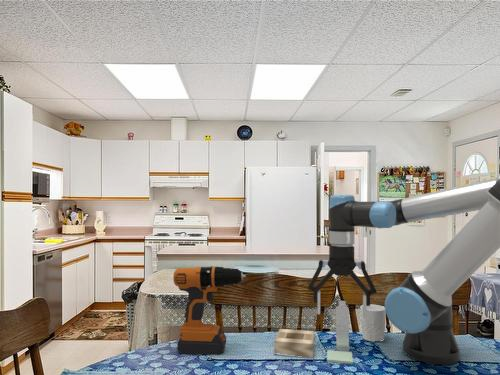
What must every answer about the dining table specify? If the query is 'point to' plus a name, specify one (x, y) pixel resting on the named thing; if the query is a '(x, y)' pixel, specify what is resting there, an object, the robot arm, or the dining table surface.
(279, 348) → the socket block
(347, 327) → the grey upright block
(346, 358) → the mat
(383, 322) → the white cup
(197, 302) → the power drill
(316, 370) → the dining table surface
